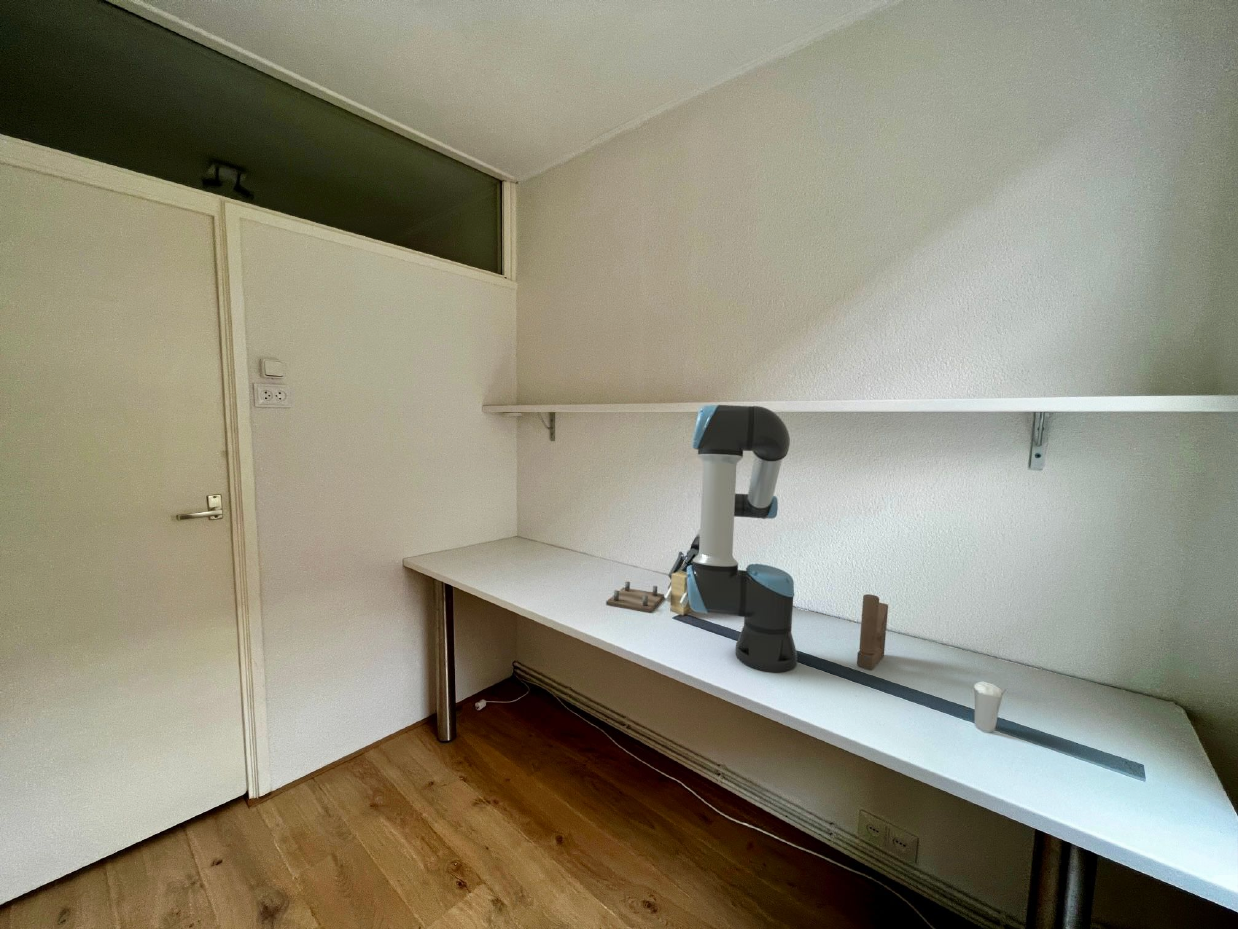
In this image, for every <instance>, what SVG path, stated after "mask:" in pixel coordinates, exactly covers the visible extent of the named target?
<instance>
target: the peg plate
mask: <svg viewBox="0 0 1238 929" xmlns="http://www.w3.org/2000/svg"><path fill="white" fill-rule="evenodd" d="M630 586H631V581H625V584H624V587H622V588H621V589H620V590H618V589H617V590H616V589H615V590H614V591H613V595H612V596H611V597H609V598H608V599H607V600H606V602H605V605H606V606H610V607H614V608H615V607H616V608H621V609H627V610H632V611H637V612H644V613H649V614H651V612H652V611H653V610H655V608H656V607H657V606H658V604H660V602H662V600H664V599H665V593H661V592H660V593H658V586H657V585H653V586H652V591H646V590H641V589H635V588H631V587H630Z"/></svg>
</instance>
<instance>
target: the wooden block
mask: <svg viewBox="0 0 1238 929" xmlns="http://www.w3.org/2000/svg"><path fill="white" fill-rule="evenodd" d="M861 607H862V608H861V619H860V620H861V621H860V622H861V623H860V636H859V647H858V648H859V651H858V652H857V655H856V656H857V657H856V665H857V666H858V667H860V668H863V669H866V670H870V671H873V669H874V668H875V667H876V666H877V665H878V664H879V663H880V662H881V660H882V659H883V658H884V657H885V651H886V650H885V649H886V637H887V636H886V634H887V632H886V631H887V628H888V627H887V626H888V612H889V604H887V603H883V602H880V598H879V596H877V595H875V594H864V595H863V596H862V606H861Z"/></svg>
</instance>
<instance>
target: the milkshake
mask: <svg viewBox="0 0 1238 929" xmlns="http://www.w3.org/2000/svg"><path fill="white" fill-rule="evenodd" d="M973 687H974V688H973V689H974V726H975V727H976V729H978V730H980V731H982V732H984V733H988V734H993V733H995V730H996V726H997V721H998V717H999V711H1000V706H1001V702H1002V698H1003V694H1004V693H1005V692H1006V690H1008V689H1007V688H1008V687H1006V688H1005V689H1004V690H1003V691H1002V690H1001V689H1000V688H999V687H998V686H997V685H995V684H993V683H990V682H987V681H979V682H976V683H975V684H974V686H973Z"/></svg>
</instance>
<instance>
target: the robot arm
mask: <svg viewBox="0 0 1238 929" xmlns="http://www.w3.org/2000/svg"><path fill="white" fill-rule="evenodd" d="M790 440H791V439H790V433H789V431H788V428H787V426H786V424H785V422H784V421H783V420H782V419H781V417H780V416H778V414H777V413H776V412H774V411H773V410H771V409H769V408H766V407H764V406H760V405H759V406H758V405H753V406H752V405H729V404H728V405H727V404H726V405H725V404H713V405H704V406H702V407H700V409H699V410H698V412H697V417H696V422H695V427H694V434H693V442H692V448H693V449H694V450H697V457H698V458H699V459H700V461H701V462H702V463H703V464H702V484H701V505H700V508H701V509H700V526H699V527H700V528H699V529H698V531H697V533H696V534H695V537H694V539H693V540H692V542H691V544H690V548H689V549H688V550H687V552H682V551H679V552H678V555H677V556H678V557H677V559H676V561H675V562H674V564H673V566H672V567H671V570H670V571H669V572H668V575H667V576H668V577H669V579H670V580H671V577H672V574H673V573H676V572H679V571H684V572H687V589H686V591H685V593H684V595H683V597H682V599H681V601H680V603H681V605H682V606H683V607H685V606H686V604H687V602H688V600H689V604H690V607H691V609H692V612H693V611H694V612H696V613H702V614H706V615H720V616H730V617H740V618H744V620H743V626H742V629H741V630H740V633H739V636H738V639H737V641H736V644H735V656H736V658H737V659H738V660H739V661H740V662H741V663H742V664H744V665H746V666H748V667H750V668H752V669H756V670H759V671H764V672H769V673H770V672H771V673H784V672H788V671H791V670H793V669H794V668H796V666H797V663H798V652H797V649H796V644H795V641H794V638H793V634H792V626H793V612H794V610H793V609H794V608H793V606H794V597H795V586H794V585H795V582H794V579H793V577H792V575H791V574H790V573H788V572H787V571H785V570H783V569H780V568H778V567H775V566H771V565H769V564H768V565H767V564H761V563H750V564H748V565H747V567H746V568H745V570H742V569H739V562H738V561H737V560H736V559H735V557H734V555H733V554H734V552H733V550H734V531H735V530H734V529H735V528H734V527H735V526H734V525H735V517H737V518H752V519H762V520H765V519H772V520H773V519H775V518H776V517H777V515H778V506H779V505H778V504H779V503H778V502H779V501H778V500H779V499H778V497H777V496H776V495H774V494H775V492H776V491H775V490H776V486H777V483H778V482H777V481H778V478H779V474H780V469H781V465H782V462H783V460H784V459H785V458H786V457H787V455H788V453H789V449H790V446H791V443H790ZM744 452H752V453H753V454H754V455H753V458H752V459H753V461H752V467H751V472H750V473H751V474H750V479H749V487H748V492H747V493H736V482H737V464H738V463H739V462H740V461H741V460H743V457H744ZM667 590H668V591H667V592H666V594H665V595H664V599H665V600H666V602H667V603H670V602H671V581H670V582H669V585H668V587H667Z"/></svg>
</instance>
